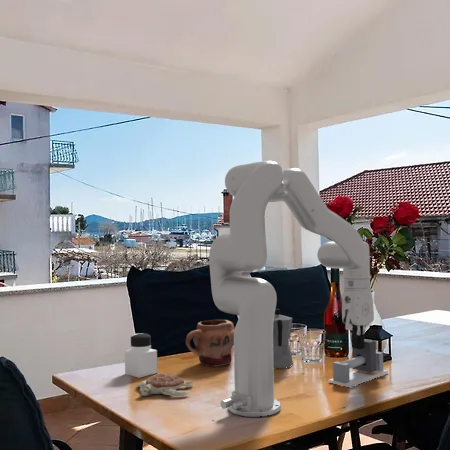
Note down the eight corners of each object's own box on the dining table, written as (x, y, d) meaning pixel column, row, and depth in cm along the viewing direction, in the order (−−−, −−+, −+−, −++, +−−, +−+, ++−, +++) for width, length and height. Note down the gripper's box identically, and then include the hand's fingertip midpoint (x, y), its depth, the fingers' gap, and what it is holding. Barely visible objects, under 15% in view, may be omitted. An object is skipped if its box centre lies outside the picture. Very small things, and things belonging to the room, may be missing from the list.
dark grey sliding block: (370, 372, 154) (370, 342, 154) (352, 369, 158) (352, 339, 158) (376, 370, 156) (375, 340, 156) (358, 367, 160) (357, 338, 160)
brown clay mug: (201, 374, 162) (200, 328, 162) (175, 367, 171) (175, 323, 171) (247, 362, 176) (246, 319, 176) (221, 356, 185) (220, 315, 185)
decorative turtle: (118, 393, 146) (118, 374, 146) (164, 379, 158) (163, 362, 158) (163, 407, 134) (163, 386, 134) (209, 391, 146) (208, 372, 146)
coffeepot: (262, 360, 178) (261, 306, 178) (290, 360, 178) (290, 305, 178) (265, 372, 162) (264, 313, 163) (296, 372, 162) (295, 312, 162)
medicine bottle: (157, 373, 164) (157, 333, 164) (139, 378, 159) (138, 337, 159) (143, 369, 169) (142, 331, 169) (124, 374, 164) (124, 334, 164)
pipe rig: (350, 388, 145) (349, 365, 145) (328, 383, 150) (328, 361, 150) (387, 373, 159) (387, 352, 159) (366, 369, 164) (366, 349, 164)
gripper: (353, 287, 147) (354, 354, 147) (381, 283, 157) (383, 345, 157) (330, 285, 152) (331, 350, 152) (359, 281, 163) (360, 342, 163)
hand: (357, 348), depth 155 cm, fingers closed
